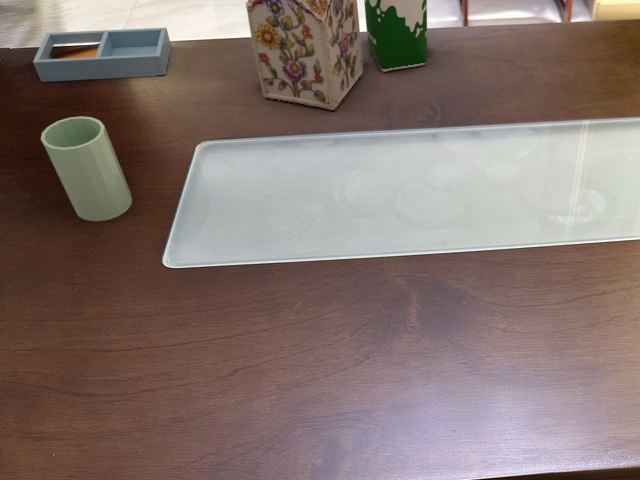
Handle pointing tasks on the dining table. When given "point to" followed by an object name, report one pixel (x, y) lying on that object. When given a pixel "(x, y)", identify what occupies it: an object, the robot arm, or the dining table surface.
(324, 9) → the decorative jar
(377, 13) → the milk carton
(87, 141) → the cup
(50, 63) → the divided tray
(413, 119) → the dining table surface
